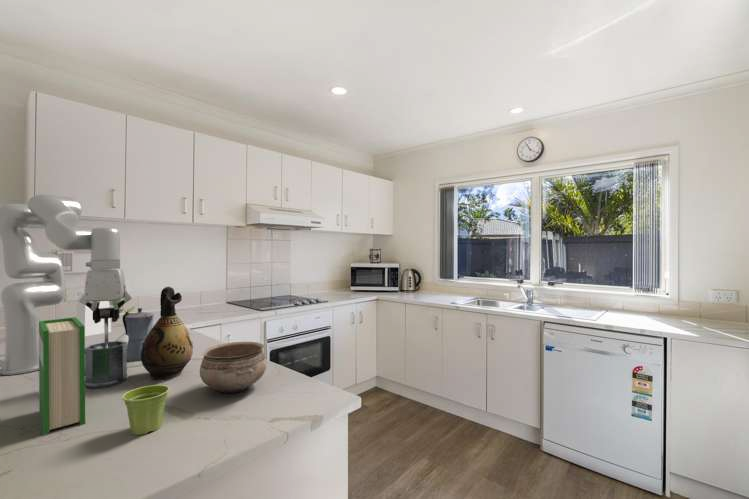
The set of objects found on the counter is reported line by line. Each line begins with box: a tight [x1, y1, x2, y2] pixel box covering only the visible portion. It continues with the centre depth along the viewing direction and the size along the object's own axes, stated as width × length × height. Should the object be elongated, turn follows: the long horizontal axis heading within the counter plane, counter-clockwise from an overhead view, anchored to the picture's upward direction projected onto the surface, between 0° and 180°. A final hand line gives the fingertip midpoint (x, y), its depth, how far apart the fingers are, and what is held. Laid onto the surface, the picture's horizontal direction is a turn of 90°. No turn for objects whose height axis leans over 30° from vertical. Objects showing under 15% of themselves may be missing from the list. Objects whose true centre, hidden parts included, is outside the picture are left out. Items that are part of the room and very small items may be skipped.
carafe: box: [85, 340, 128, 390], centre depth 113 cm, size 14×11×12 cm
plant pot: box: [121, 384, 170, 435], centre depth 83 cm, size 9×9×9 cm
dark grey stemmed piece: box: [98, 306, 114, 348], centre depth 114 cm, size 7×7×14 cm
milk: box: [76, 292, 112, 337], centre depth 186 cm, size 12×12×26 cm
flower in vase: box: [109, 297, 135, 344], centre depth 160 cm, size 13×11×25 cm
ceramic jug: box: [140, 286, 194, 381], centre depth 121 cm, size 17×15×30 cm
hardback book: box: [38, 316, 86, 436], centre depth 89 cm, size 18×7×24 cm, turn 46°
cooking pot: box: [199, 341, 268, 394], centre depth 107 cm, size 25×19×12 cm
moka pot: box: [122, 307, 155, 362], centre depth 140 cm, size 10×15×20 cm, turn 78°
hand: (106, 321), depth 114 cm, fingers closed on dark grey stemmed piece, 4 cm apart
